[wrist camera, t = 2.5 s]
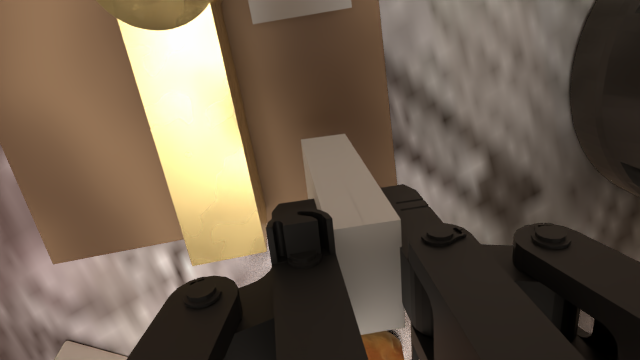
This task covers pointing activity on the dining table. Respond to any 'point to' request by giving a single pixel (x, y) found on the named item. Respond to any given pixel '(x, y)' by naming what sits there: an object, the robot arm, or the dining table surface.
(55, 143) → the board
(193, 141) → the latch bar
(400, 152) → the dining table surface
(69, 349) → the milk
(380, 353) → the pastry
